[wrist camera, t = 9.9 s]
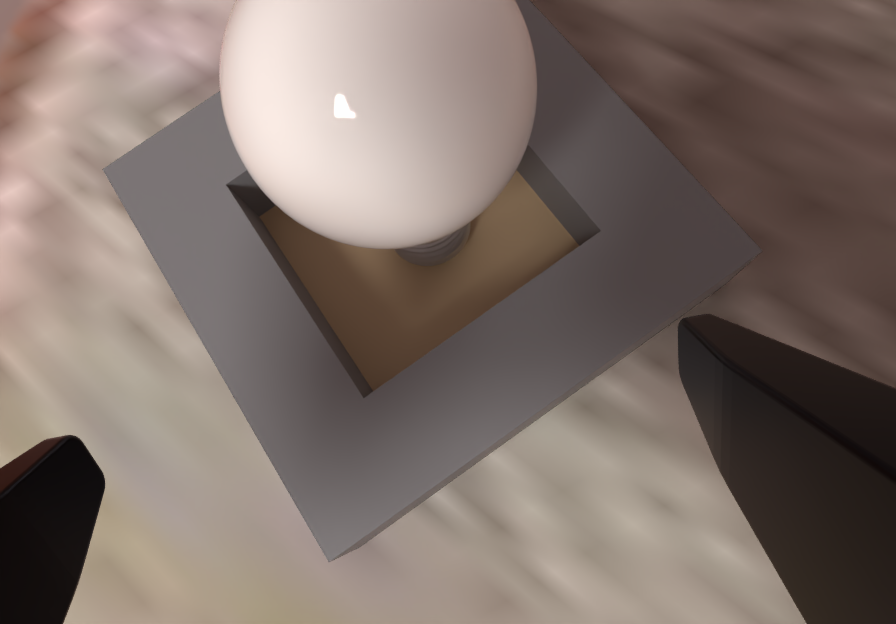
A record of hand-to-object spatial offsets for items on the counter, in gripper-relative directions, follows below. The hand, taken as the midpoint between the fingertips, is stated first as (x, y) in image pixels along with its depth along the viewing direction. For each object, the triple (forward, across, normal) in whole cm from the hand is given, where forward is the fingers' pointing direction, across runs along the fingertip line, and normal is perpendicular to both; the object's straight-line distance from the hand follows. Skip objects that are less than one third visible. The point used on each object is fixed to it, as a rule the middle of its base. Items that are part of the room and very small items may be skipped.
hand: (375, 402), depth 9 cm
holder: (+12, 0, +3) cm, 12 cm away
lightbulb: (+12, 0, +2) cm, 12 cm away
